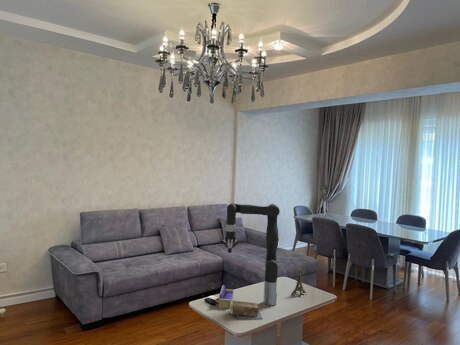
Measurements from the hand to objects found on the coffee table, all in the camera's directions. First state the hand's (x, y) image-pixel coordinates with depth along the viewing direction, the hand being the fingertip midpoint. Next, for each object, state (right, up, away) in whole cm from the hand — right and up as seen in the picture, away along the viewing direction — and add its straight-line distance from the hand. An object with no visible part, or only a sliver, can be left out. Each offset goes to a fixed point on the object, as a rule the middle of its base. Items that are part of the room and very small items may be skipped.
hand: (229, 252), depth 262 cm
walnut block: (+1, -32, -23) cm, 40 cm away
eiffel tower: (+57, -40, +22) cm, 73 cm away
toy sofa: (-3, -37, -3) cm, 38 cm away
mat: (+13, -38, -22) cm, 46 cm away
